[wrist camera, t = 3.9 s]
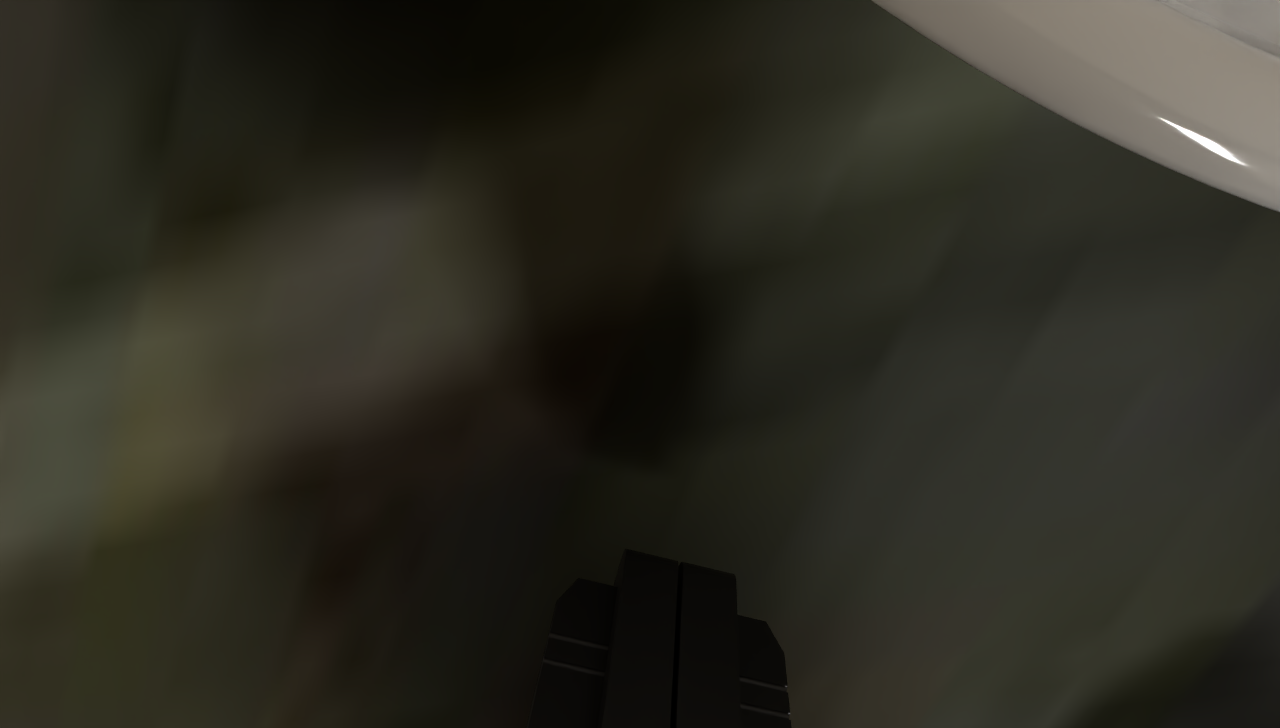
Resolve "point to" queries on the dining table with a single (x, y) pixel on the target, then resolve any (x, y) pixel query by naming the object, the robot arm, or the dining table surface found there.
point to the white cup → (1136, 74)
